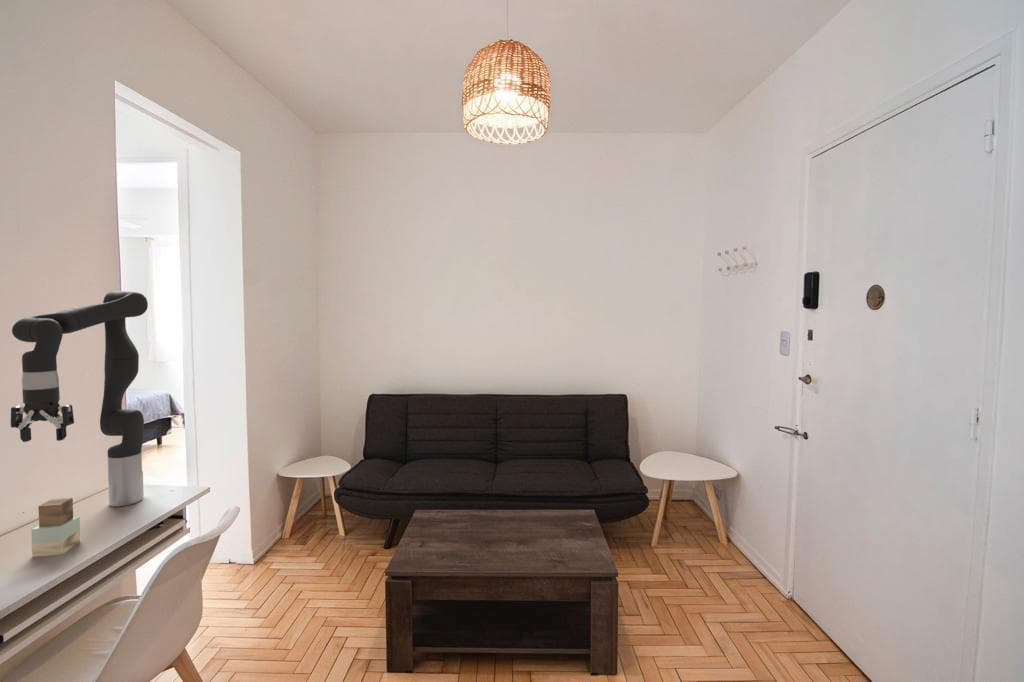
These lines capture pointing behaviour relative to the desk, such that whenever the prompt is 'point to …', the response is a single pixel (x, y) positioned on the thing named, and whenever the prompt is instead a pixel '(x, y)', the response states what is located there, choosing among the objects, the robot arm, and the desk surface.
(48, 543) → the lower slab
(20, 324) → the robot arm
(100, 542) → the desk surface
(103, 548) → the desk surface
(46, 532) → the upper slab
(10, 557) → the desk surface
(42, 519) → the walnut block
